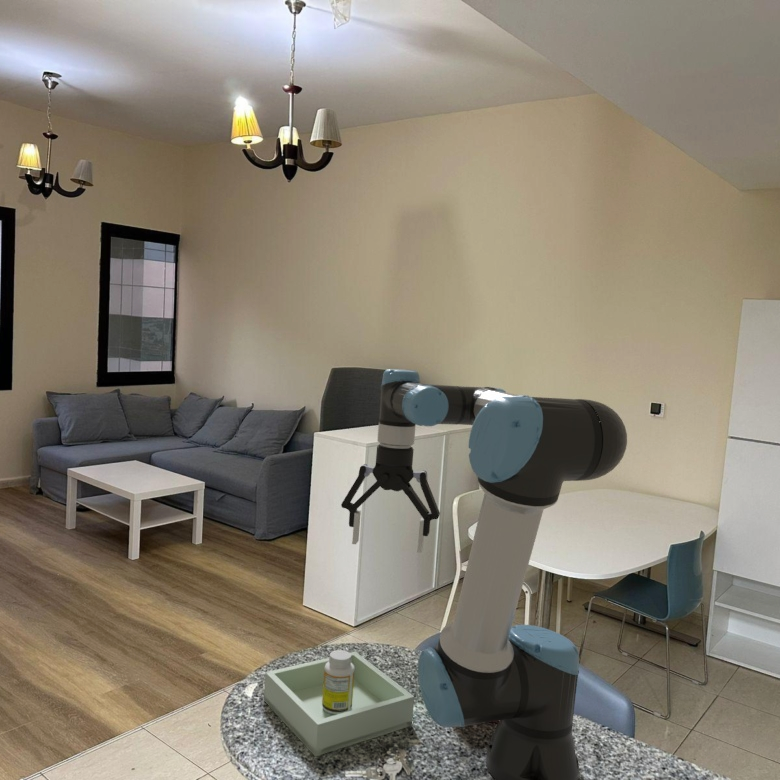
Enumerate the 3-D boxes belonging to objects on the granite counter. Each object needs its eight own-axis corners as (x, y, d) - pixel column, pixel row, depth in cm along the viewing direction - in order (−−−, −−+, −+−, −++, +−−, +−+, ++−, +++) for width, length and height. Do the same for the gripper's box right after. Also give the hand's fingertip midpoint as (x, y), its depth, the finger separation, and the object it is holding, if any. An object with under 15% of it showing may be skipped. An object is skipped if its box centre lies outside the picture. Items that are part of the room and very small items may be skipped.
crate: (411, 725, 129) (414, 696, 128) (315, 756, 117) (317, 724, 117) (353, 677, 145) (355, 651, 144) (263, 700, 133) (265, 672, 133)
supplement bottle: (335, 697, 134) (339, 645, 134) (357, 708, 131) (362, 655, 130) (315, 707, 130) (319, 654, 129) (337, 719, 127) (341, 664, 126)
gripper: (457, 448, 146) (449, 549, 148) (340, 436, 150) (333, 534, 152) (454, 454, 139) (445, 559, 140) (331, 441, 143) (324, 544, 145)
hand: (387, 546), depth 146 cm, fingers open, 13 cm apart
